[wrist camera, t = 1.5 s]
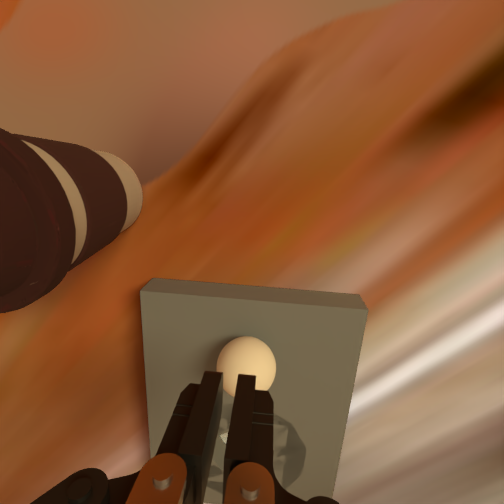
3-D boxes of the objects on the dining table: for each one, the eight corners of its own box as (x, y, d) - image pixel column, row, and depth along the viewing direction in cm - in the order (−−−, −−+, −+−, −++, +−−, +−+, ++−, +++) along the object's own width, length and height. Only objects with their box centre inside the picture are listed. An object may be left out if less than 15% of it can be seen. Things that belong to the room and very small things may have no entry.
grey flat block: (359, 294, 29) (368, 309, 26) (324, 489, 37) (328, 517, 34) (152, 277, 30) (139, 290, 27) (162, 470, 38) (153, 496, 35)
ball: (278, 327, 27) (278, 364, 22) (273, 374, 28) (273, 417, 24) (222, 322, 27) (211, 358, 22) (221, 369, 29) (210, 411, 24)
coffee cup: (180, 187, 27) (73, 223, 13) (121, 265, 30) (-22, 366, 15) (87, 109, 25) (-152, 48, 11) (34, 198, 28) (-213, 241, 14)
